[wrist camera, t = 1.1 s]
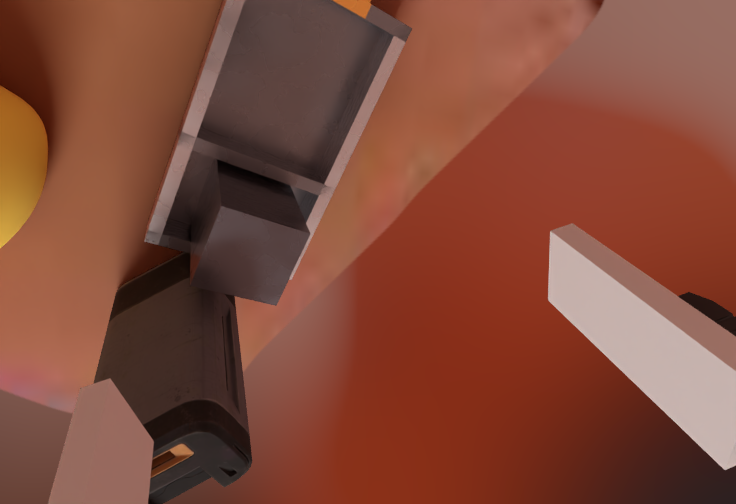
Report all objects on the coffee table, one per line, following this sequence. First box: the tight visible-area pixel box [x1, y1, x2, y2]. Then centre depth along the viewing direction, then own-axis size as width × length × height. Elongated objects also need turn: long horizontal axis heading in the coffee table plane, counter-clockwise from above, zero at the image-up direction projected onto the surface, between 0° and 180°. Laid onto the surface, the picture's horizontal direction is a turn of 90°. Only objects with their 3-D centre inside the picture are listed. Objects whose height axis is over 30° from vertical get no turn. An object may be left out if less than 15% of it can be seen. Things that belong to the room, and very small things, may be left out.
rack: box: [144, 0, 412, 305], centre depth 34 cm, size 12×23×11 cm, turn 152°
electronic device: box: [94, 252, 252, 504], centre depth 35 cm, size 9×6×20 cm, turn 113°
